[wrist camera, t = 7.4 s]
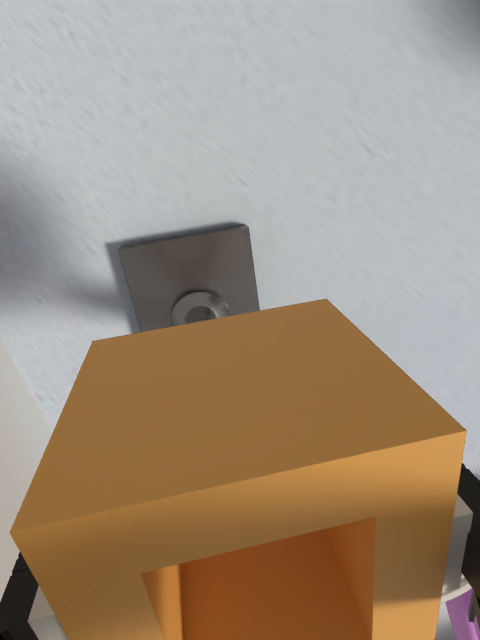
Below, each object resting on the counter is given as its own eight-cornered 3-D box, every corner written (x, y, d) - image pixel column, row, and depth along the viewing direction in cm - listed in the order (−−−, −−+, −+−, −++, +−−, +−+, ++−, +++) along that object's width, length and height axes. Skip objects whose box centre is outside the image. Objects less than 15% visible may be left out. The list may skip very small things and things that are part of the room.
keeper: (120, 246, 27) (93, 290, 19) (246, 224, 27) (274, 257, 19) (160, 386, 32) (152, 470, 24) (265, 365, 33) (293, 439, 24)
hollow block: (92, 341, 13) (9, 532, 6) (326, 298, 13) (466, 430, 7) (147, 511, 16) (130, 749, 9) (332, 469, 17) (431, 664, 10)
